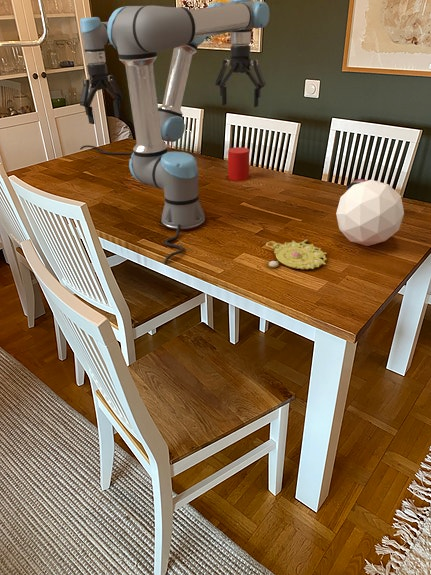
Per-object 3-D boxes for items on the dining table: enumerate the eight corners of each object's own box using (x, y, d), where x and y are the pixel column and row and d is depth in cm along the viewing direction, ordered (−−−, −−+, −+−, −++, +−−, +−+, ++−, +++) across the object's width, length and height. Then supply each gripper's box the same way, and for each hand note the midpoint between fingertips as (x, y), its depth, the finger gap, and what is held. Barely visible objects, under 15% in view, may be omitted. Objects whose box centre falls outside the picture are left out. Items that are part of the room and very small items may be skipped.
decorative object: (309, 275, 120) (249, 251, 130) (307, 282, 121) (248, 258, 131) (343, 246, 133) (286, 226, 143) (341, 253, 134) (285, 233, 145)
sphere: (372, 267, 139) (394, 238, 121) (318, 234, 144) (331, 202, 125) (402, 223, 144) (427, 189, 125) (348, 192, 149) (365, 155, 130)
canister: (225, 175, 197) (225, 148, 191) (244, 173, 200) (244, 146, 193) (232, 182, 190) (232, 154, 184) (252, 179, 192) (252, 151, 186)
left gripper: (75, 67, 162) (86, 127, 174) (127, 60, 178) (133, 116, 190) (63, 66, 166) (74, 125, 178) (115, 59, 182) (122, 114, 194)
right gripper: (275, 44, 164) (272, 105, 175) (214, 44, 173) (215, 102, 184) (269, 46, 158) (266, 109, 169) (206, 45, 167) (207, 105, 178)
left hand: (105, 120), depth 184 cm, fingers open, 13 cm apart
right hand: (240, 105), depth 177 cm, fingers open, 13 cm apart
